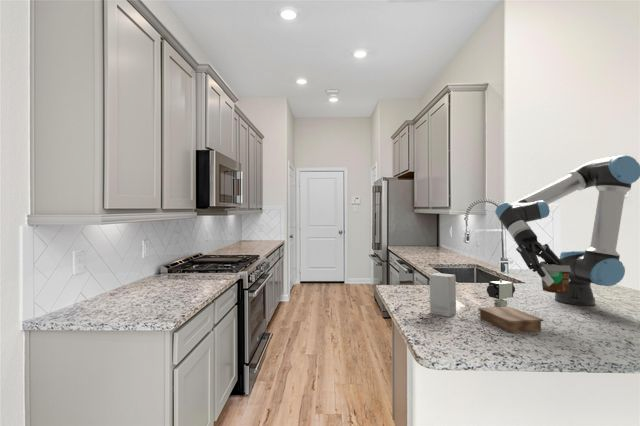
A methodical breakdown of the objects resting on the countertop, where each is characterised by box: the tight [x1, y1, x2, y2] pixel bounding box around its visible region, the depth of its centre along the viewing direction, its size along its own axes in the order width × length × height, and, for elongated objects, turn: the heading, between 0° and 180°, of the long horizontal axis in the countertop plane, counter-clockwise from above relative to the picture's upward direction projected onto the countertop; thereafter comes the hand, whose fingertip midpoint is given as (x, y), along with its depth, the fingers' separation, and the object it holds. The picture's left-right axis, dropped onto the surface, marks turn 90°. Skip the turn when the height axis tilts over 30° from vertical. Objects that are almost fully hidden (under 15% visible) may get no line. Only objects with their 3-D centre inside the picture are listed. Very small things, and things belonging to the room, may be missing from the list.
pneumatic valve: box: [486, 279, 516, 307], centre depth 154 cm, size 6×12×12 cm, turn 114°
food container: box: [539, 260, 571, 294], centre depth 133 cm, size 12×6×10 cm, turn 5°
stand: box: [478, 306, 544, 333], centre depth 131 cm, size 13×17×4 cm
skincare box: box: [429, 272, 457, 318], centre depth 144 cm, size 8×7×16 cm
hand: (559, 283), depth 130 cm, fingers closed on food container, 7 cm apart
